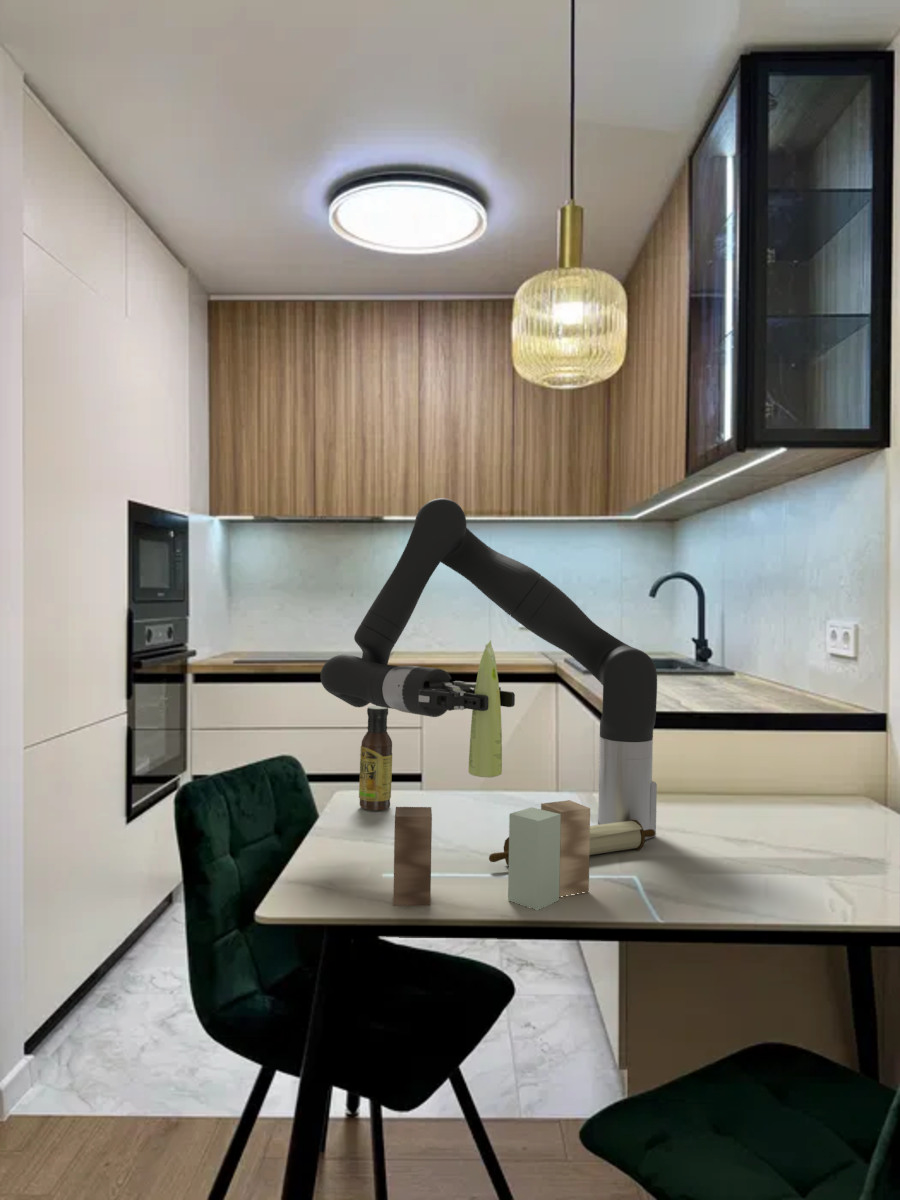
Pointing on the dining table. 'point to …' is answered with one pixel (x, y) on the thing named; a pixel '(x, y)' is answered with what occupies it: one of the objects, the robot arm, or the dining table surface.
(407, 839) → the walnut block
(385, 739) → the sauce bottle
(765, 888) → the dining table surface
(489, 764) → the tube
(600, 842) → the rolling pin
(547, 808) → the oak block
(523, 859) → the sage block
